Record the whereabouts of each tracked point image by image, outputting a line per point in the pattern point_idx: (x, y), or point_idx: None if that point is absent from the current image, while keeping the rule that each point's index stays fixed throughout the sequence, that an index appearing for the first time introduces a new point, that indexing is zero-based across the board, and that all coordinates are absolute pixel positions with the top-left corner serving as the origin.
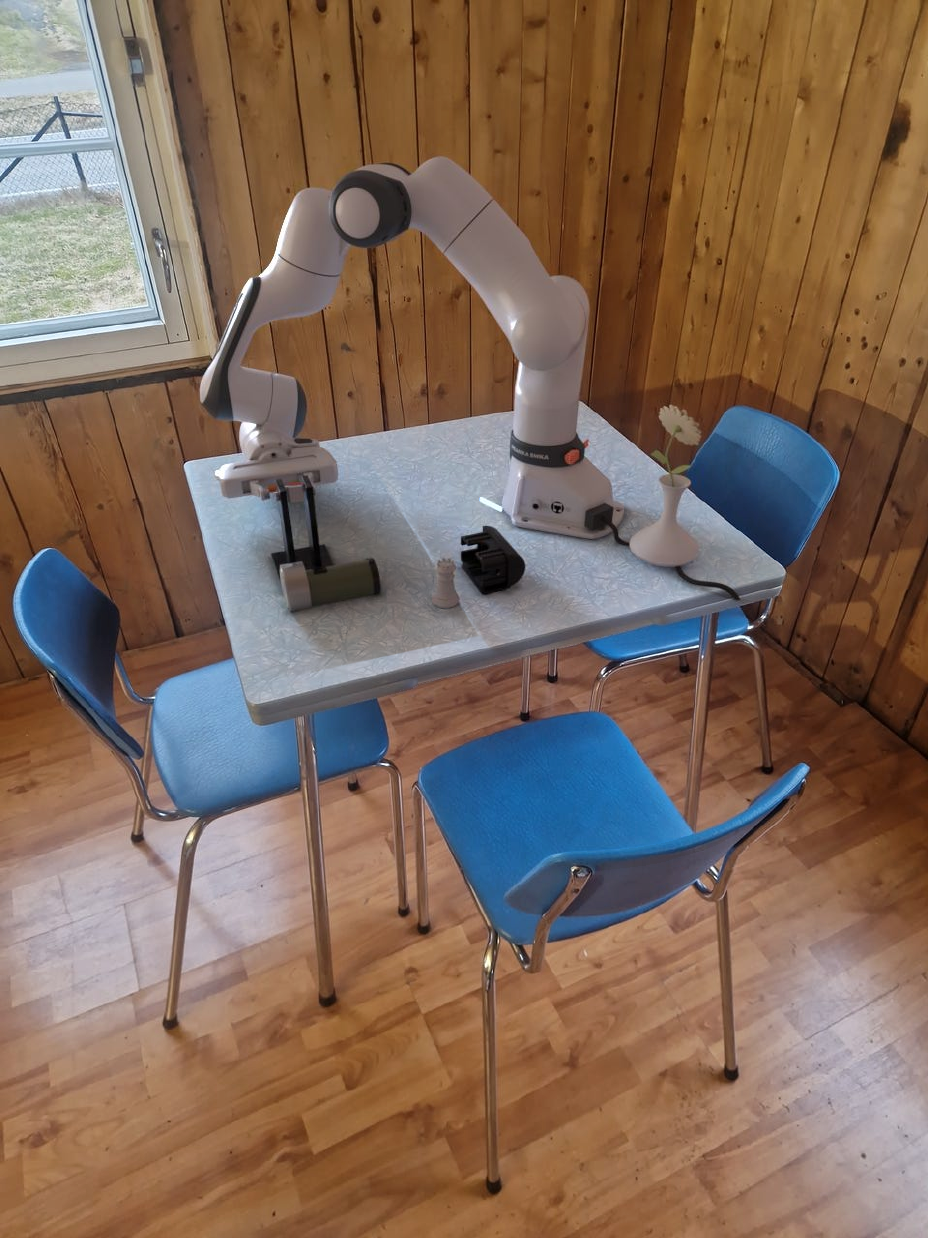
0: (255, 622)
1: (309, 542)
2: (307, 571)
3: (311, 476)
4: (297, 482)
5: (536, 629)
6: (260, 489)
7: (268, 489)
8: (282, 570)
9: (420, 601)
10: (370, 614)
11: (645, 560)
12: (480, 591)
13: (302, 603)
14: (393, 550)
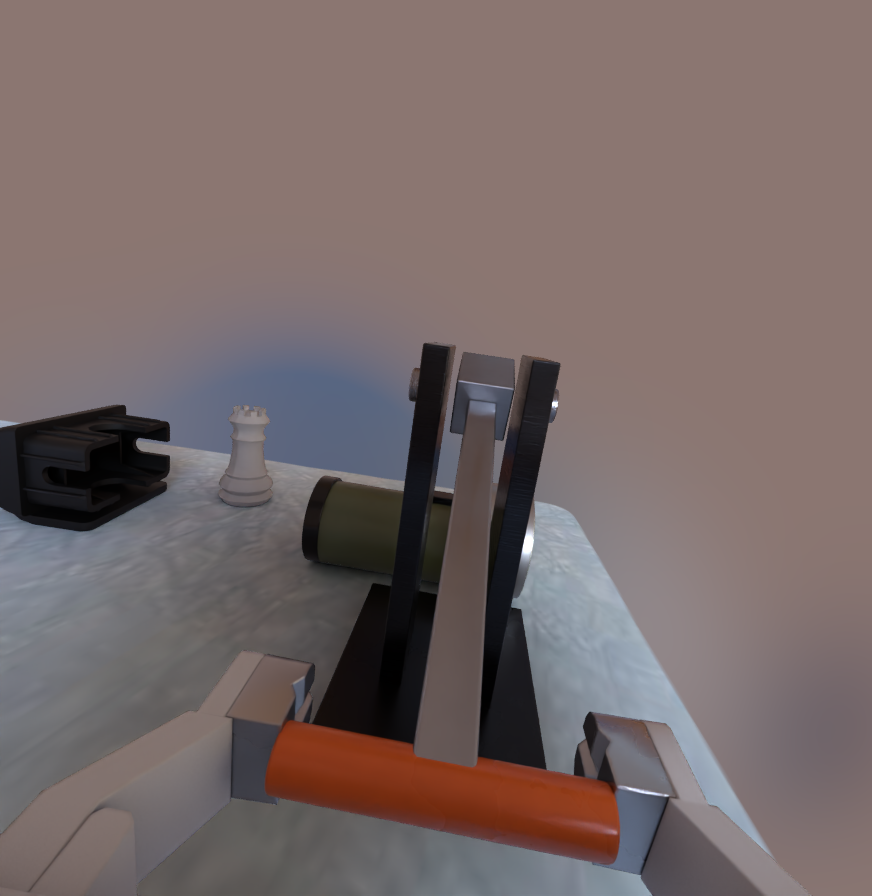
0: (581, 588)
1: (411, 617)
2: None
3: (103, 760)
4: (308, 738)
5: (196, 452)
6: (674, 752)
7: (597, 718)
8: None
9: (267, 516)
10: None
11: None
12: (163, 489)
13: None
14: (110, 643)
